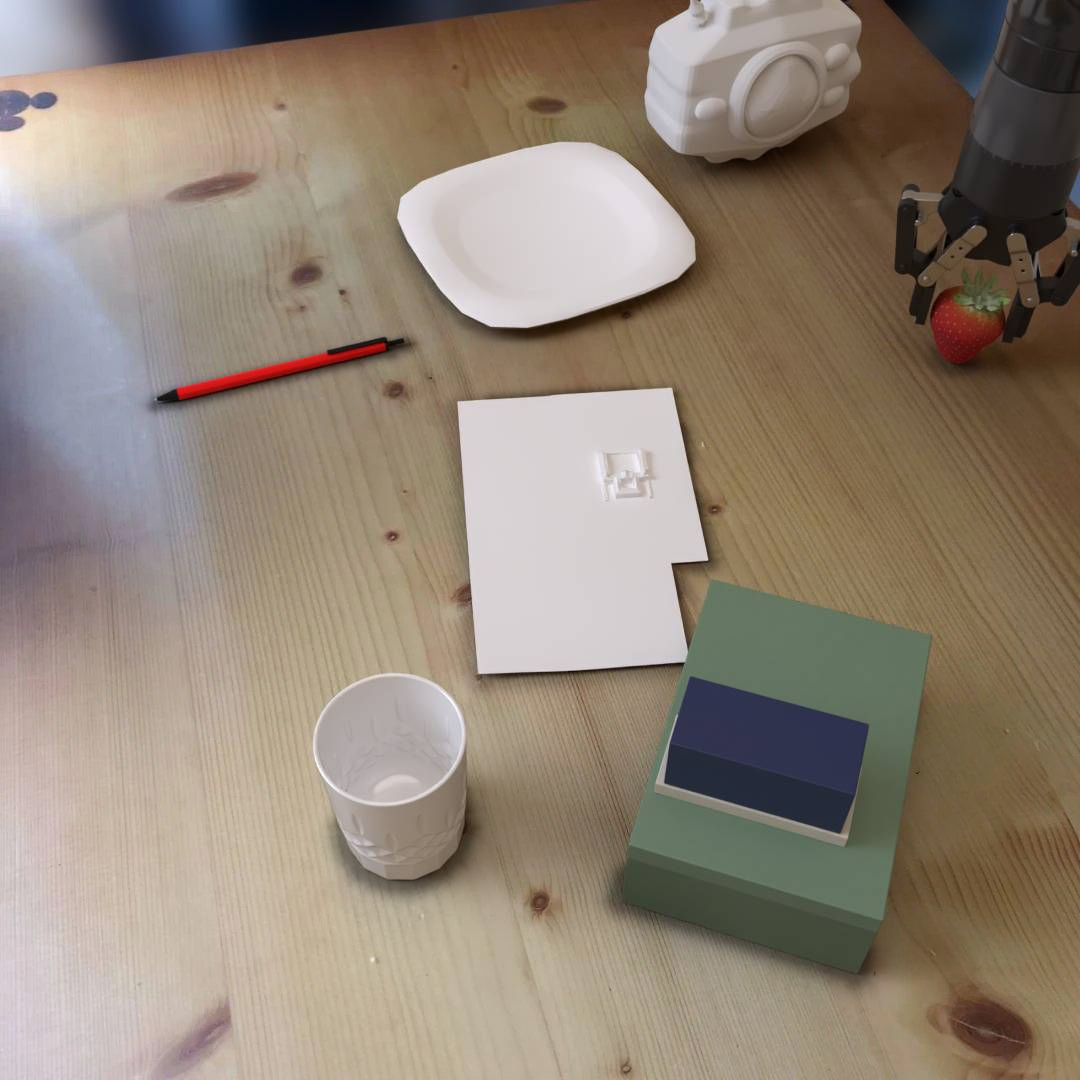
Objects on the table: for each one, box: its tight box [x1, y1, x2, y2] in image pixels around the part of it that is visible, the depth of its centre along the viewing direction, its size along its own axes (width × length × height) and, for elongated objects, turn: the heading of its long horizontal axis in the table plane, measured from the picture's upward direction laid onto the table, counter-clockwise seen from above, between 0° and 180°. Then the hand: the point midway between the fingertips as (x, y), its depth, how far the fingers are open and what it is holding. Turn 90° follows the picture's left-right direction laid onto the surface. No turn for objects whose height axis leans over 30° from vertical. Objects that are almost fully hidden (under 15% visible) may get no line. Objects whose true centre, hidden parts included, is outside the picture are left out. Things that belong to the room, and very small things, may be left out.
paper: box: [457, 387, 709, 675], centre depth 88 cm, size 25×17×1 cm
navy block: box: [654, 676, 869, 847], centre depth 67 cm, size 10×4×5 cm, turn 72°
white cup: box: [312, 672, 468, 881], centre depth 71 cm, size 8×8×10 cm
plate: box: [396, 141, 697, 330], centre depth 108 cm, size 22×22×2 cm
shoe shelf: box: [621, 578, 933, 975], centre depth 73 cm, size 13×18×7 cm
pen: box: [153, 336, 405, 402], centre depth 98 cm, size 1×19×1 cm, turn 110°
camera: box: [643, 0, 862, 164], centre depth 110 cm, size 11×18×16 cm, turn 114°
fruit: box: [929, 267, 1012, 364], centre depth 96 cm, size 5×5×8 cm
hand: (964, 326), depth 96 cm, fingers open, 5 cm apart
